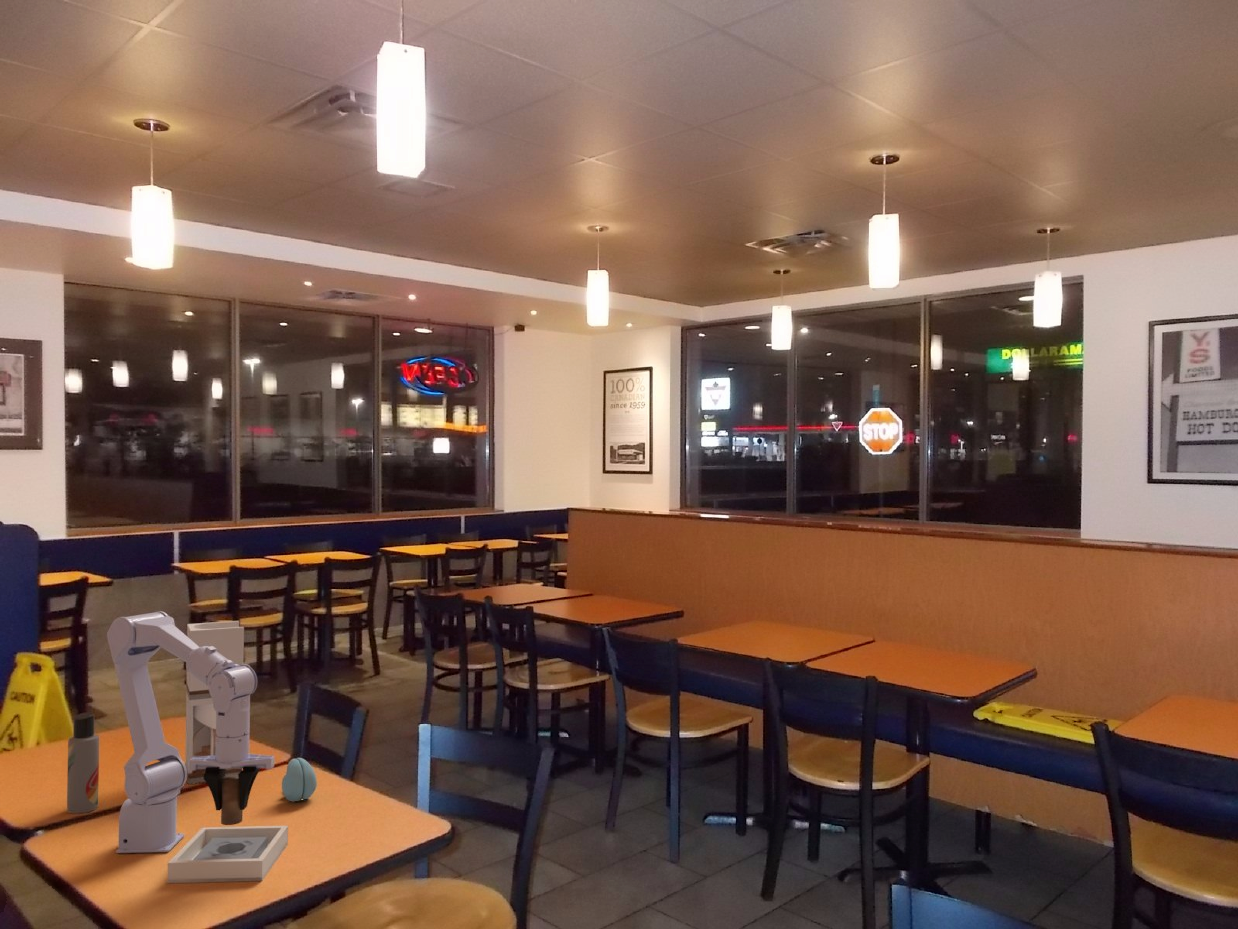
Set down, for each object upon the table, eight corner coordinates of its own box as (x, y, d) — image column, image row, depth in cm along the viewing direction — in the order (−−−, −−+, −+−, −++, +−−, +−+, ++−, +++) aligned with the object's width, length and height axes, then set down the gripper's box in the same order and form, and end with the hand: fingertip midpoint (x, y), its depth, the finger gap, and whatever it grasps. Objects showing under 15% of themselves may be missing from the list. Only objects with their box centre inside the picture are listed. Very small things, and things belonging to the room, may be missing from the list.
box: (167, 883, 158) (167, 863, 158) (202, 846, 174) (202, 827, 174) (262, 880, 160) (262, 860, 160) (287, 844, 176) (288, 825, 176)
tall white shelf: (188, 784, 209) (190, 630, 209) (185, 771, 218) (187, 624, 218) (241, 776, 214) (244, 627, 215) (236, 764, 223) (238, 620, 224)
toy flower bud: (302, 750, 208) (320, 759, 199) (303, 790, 208) (321, 801, 198) (270, 755, 204) (287, 765, 194) (270, 796, 203) (287, 808, 194)
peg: (218, 825, 165) (219, 780, 166) (224, 818, 169) (226, 774, 169) (238, 825, 166) (239, 780, 166) (245, 818, 169) (246, 774, 169)
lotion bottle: (104, 805, 195) (105, 711, 195) (86, 815, 190) (87, 718, 190) (79, 804, 196) (80, 710, 196) (60, 813, 190) (62, 717, 190)
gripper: (183, 740, 163) (182, 817, 162) (266, 739, 164) (265, 815, 164) (198, 729, 170) (197, 803, 170) (278, 728, 171) (277, 801, 171)
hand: (231, 808), depth 167 cm, fingers closed on peg, 4 cm apart
